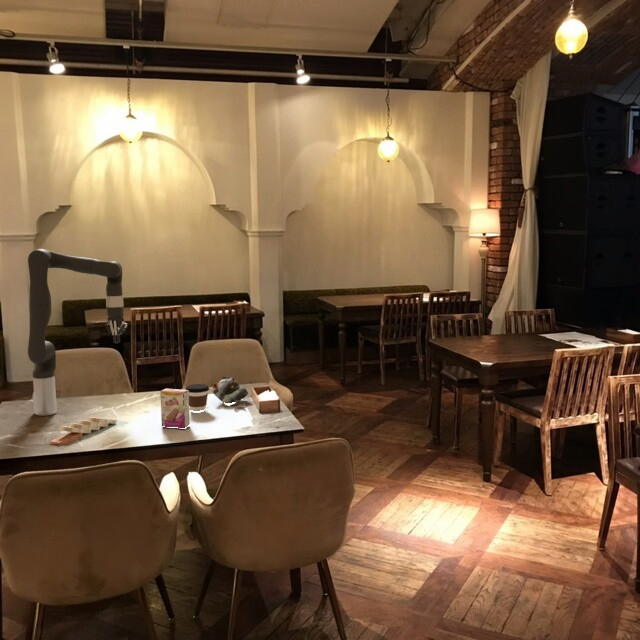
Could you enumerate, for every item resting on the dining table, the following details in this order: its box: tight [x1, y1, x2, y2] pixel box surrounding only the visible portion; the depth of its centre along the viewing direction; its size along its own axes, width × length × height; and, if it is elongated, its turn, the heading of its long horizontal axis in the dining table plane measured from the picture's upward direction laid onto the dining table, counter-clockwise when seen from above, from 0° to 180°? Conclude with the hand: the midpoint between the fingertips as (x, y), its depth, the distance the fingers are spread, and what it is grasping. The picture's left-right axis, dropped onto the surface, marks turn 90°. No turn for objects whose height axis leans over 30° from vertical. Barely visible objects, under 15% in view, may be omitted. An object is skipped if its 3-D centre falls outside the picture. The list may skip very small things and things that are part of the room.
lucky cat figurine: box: [212, 376, 250, 403], centre depth 340 cm, size 15×12×14 cm
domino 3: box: [68, 422, 100, 430], centre depth 292 cm, size 5×2×12 cm
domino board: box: [79, 418, 130, 440], centre depth 299 cm, size 12×26×1 cm, turn 153°
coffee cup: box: [184, 383, 210, 411], centre depth 325 cm, size 11×11×12 cm
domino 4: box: [78, 419, 108, 427], centre depth 297 cm, size 5×2×12 cm
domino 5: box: [87, 416, 118, 424], centre depth 301 cm, size 5×2×12 cm
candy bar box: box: [160, 388, 191, 428], centre depth 301 cm, size 11×5×16 cm, turn 74°
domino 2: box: [59, 425, 91, 433], centre depth 288 cm, size 5×2×12 cm
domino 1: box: [49, 432, 82, 446], centre depth 284 cm, size 5×2×12 cm
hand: (116, 342), depth 324 cm, fingers closed
